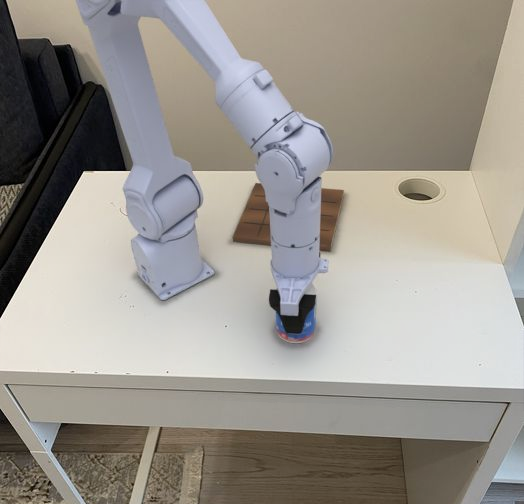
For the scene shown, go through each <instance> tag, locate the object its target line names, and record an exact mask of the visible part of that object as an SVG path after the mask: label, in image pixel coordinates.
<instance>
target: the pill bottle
mask: <svg viewBox="0 0 524 504" xmlns="http://www.w3.org/2000/svg"><path fill="white" fill-rule="evenodd" d="M275 290H278V289H277V288H276V289H275ZM305 294H311V295H316V302H315V306H314V308H313V310H311V311H310V312H309V314H308V315H307V317H306V320H305V324H304V328H303V331H302V333H301V334H293V333H286V332H285V330H284V327H283V325H282V322H281V319H280V317H279V315H278V314H277V312H276V311H275V330H276V334H277V335H278V336H279V338H280V339H281V340H283V341H285V342H287V343H290V344H302V343H305V342H307V341H309V340H310V339H311V338H312V337H313V335H314V334H315V331H316V323H317V322H316V321H317V302H318V291H317V288H316V286H315V285H314V281H313V282H312V283H311V285H310V286H309V288H308V289H307V291H306V292H305Z"/></svg>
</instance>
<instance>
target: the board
mask: <svg viewBox="0 0 524 504" xmlns="http://www.w3.org/2000/svg"><path fill="white" fill-rule="evenodd" d="M344 195H345V190H344V189H336V188H324V187H321V214H320V244H319V251H323V252H331V251H332V247H333V243H334V238H335V234H336V230H337V225H338V221H339V217H340V213H341V208H342V204H343V200H344V197H345V196H344ZM232 242H233V243H235V242H236V243H243V244H244V243H245V244H253V245H254V244H256V245H264V246H271V235H270V214H269V206H268V202H266V196H265V190H264V188H263V186H262V185H261V183H260V182H255V183H254V186H253V188H252V191H251V193H250V195H249V197H248V199H247V201H246V205H245V207H244V209H243V212H242V214H241V216H240V219H239V221H238V223H237V226H236V228H235V230H234V233H233V235H232Z"/></svg>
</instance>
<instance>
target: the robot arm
mask: <svg viewBox="0 0 524 504" xmlns="http://www.w3.org/2000/svg"><path fill="white" fill-rule="evenodd" d="M75 3H76V5H77V9H78V11H79V14H80V18H81V20H82V23H83V25H84V26H86V27H87V29H88V32H89V34H90V38H91V41H92V43H93V47H94V50H95V52H96V55H97V58H98V62H99V64H100V68H101V72H102V74H103V77H104V78H105V79H104V80H105V83H106V86H107V89H108V91H109V92H108V93H109V95H110V97H111V101H112V104H113V107H114V111H115V113H116V116H117V119H118V121H119V125H120V128H121V130H122V133H123V137H124V140H125V144H126V145H127V150H128V151H129V154H130V158H131V161H132V167H131V169H130V171H129V173H128V174H127V178H126V180H125V181H124V184H123V186H122V191H123V194H124V198H125V210H126V216H127V219H128V221H129V222H130V224H131V226H132V228H133V229H134V230H135V231H136V232H137V233H138V234H137V235H136V236H134V237H133V238H132V239H130V248H131V251H132V256H133V259H134V262H135V265H136V269H137V276H138V278H140V279H141V280H142V281H143V282H144V284H145V285H146V286H147V287H148V288H149V289H150V290H151V291H152V292H153V293H154V295H156V296H157V298H158V299H160V300H161V301H166V300H167V299H170V298H171V297H174V296H175V295H177V294H179V293H181V292H183V291H184V290H187V289H189V288H191V287H193V286H194V285H196V284H198V283H200V282H202V281H204V280H207V279H208V278H210V277H211V276H214V275H215V270H214V269H213V268H212V267H211V266H210V265H209V264H208V263H207V262H205V261H204V260H203V259H202V255H201V248H200V242H199V236H198V231H197V224H196V220H197V219H198V218H199V214H198V209H200V208H201V207H202V206H203V203H204V193H203V189H202V186H201V185H200V183H199V181H198V180H197V178H196V176H195V174H194V171H193V169H192V164H191V163H190V162H189V161H187V160H186V159H184V158H183V157H182V158H181V157H179V156H176V155H175V154H174V151H173V148H172V143H171V140H170V136H169V133H168V129H167V125H166V122H165V119H164V116H163V112H162V108H161V104H160V100H159V97H158V93H157V90H156V86H155V82H154V78H153V74H152V71H151V68H150V63H149V59H148V56H147V52H146V50H145V49H146V48H145V46H144V42H143V39H142V34H141V31H140V27H139V22H140V19H141V18H149V19H150V18H151V19H158V20H160V21H161V22H162V23H163V24H164V25H165V27H166V28H167V29H168V30H169V31H170V32H171V33H172V34H173V36H174V38H176V40H178V42H179V43H180V44H181V45H182V46H183V47H184V48H185V50H186V51H187V52H188V53H189V54H190V55H191V56H192V58H193V59H194V60H195V61H196V62H197V63H198V64H199V66H200V67H201V68H202V70H204V71H205V73H206V74H207V75H208V76H209V77H210V78H211V79H212V80H213V82H214V86H215V87H214V89H215V90H214V91H215V92H214V93H215V94H214V98H215V99H214V100H215V104H216V105H217V106H218V108H219V109H220V111H221V112H222V114H223V115H224V116H225V117H226V119H227V120H228V121H229V123H230V124H231V125H232V127H233V128H234V129H235V131H236V132H237V133H238V134H239V136H240V137H241V139H242V140H243V141H244V142H245V144H246V145H247V146H248V147H249V149H250V150H251V151H252V153H253V154H254V155H255V157H256V158H257V159H258V161H257V162H256V163H254V165H253V167H254V172H255V175H256V177H257V179H258V181H259V183H261V185H262V186H263V188H264V190H265V196H266V202H268V206H269V214H270V235H271V245H270V252H271V253H270V254H271V259H270V261H269V262H270V267H269V268H270V273H271V275H272V278H273V280H274V283H275V286H276V289H278V290H276V289H271V288H270V289H269V294H268V305H269V307H270V308H271V309H272V310H274V311H275V313H276V312H277V314H278V315H279V317H280V319H281V322H282V325H283V327H284V330H285V332H286V333H293V334H301V333H302V331H303V328H304V324H305V320H306V317H307V315H308V314H309V312H310V311H311V310H313V308H314V306H315V302H316V295H311V294H305V292H306V291H307V289H308V288H309V286H310V285H311V283H312V282H313V283H314V280H315V279H316V277H317V276H318V275H319V274H327V273H328V272H329V264H330V262H329V259H328V258H324V257H321V255H322V254H321V252H320V250H319V244H320V214H321V188H322V186H323V185H322V184H323V183H322V181H323V180H322V179H323V177H321V175H322V174H323V173H325V172H326V171H327V170H328V168H329V167H330V166H331V164H332V162H333V158H334V148H333V144H332V141H331V139H330V136H329V135H328V134H327V131H326V129H325V127H324V126H323V125H321V124H320V123H319V122H317V121H315V120H313V119H310V118H307V117H306V116H305V115H304V114H303V113H302V112H300V111H295V109H294V108H293V107H292V106H291V104H290V103H289V101H288V100H287V98H286V97H285V96H284V94H283V93H282V92H281V90H280V89H279V87H278V86H277V85H276V83H275V82H274V78H273V76H272V75H271V74H270V72H269V71H268V70H267V69H264V67H263V65H262V64H261V63H260V62H259V61H255V60H250V59H246V58H245V59H244V58H243V57H241V56H240V53H239V52H238V51H237V49H236V48H235V46H234V44H233V43H232V41H231V40H230V38H229V36H228V35H227V33H226V32H225V30H224V28H223V27H222V25H221V24H220V22H219V20H218V19H217V17H216V16H215V14H214V12H213V11H212V10H211V8H210V6H209V5H208V3H207V1H206V0H75Z"/></svg>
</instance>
